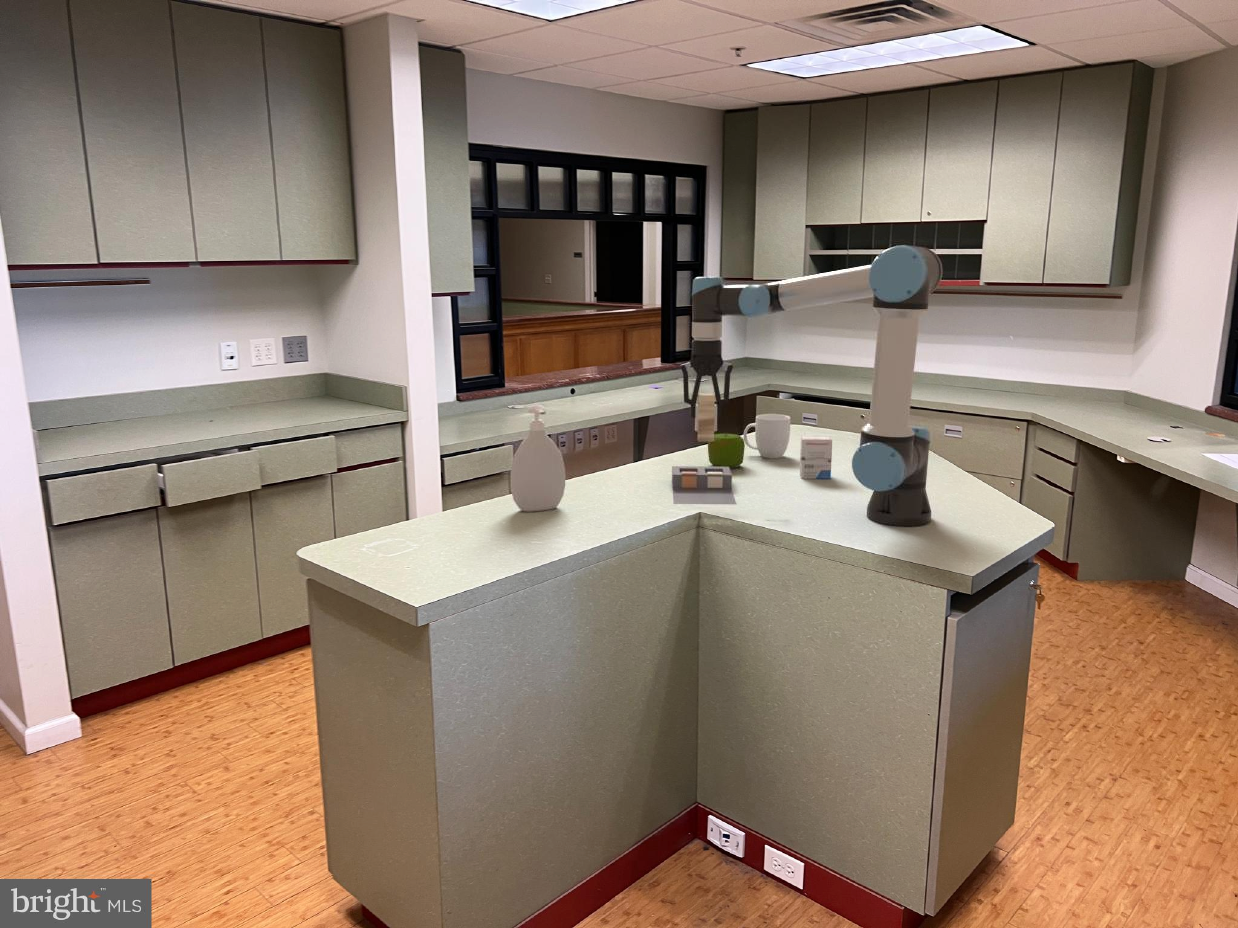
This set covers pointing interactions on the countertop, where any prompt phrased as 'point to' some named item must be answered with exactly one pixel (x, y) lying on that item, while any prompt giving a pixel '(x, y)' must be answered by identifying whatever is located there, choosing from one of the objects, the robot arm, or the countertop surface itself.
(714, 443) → the apple
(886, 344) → the robot arm
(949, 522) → the countertop surface
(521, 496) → the soap bottle
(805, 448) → the ink box
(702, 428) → the birch plug
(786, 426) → the mug
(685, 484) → the socket station
